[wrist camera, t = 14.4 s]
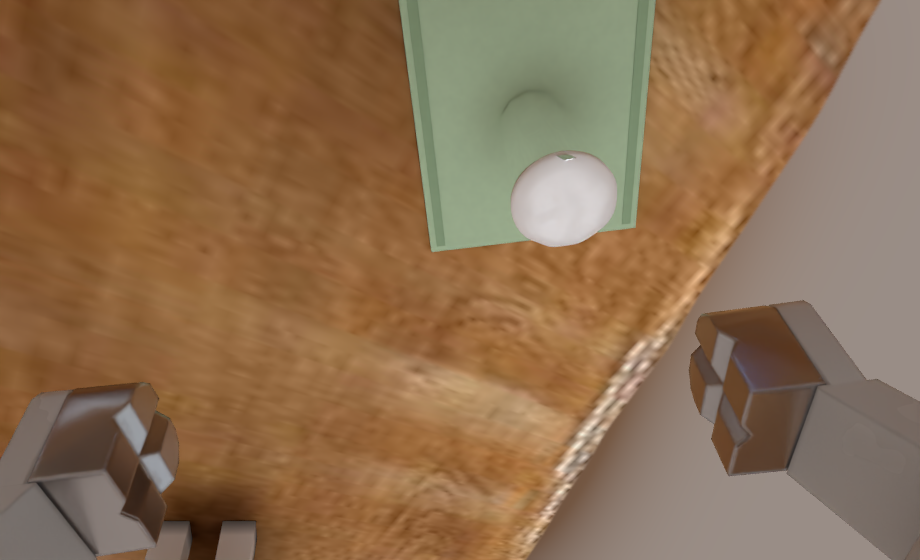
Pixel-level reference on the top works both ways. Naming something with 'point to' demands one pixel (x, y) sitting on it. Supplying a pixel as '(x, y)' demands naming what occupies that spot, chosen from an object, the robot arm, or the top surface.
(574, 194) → the milkshake
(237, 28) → the top surface
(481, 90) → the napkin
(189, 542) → the toy llama
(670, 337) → the top surface
